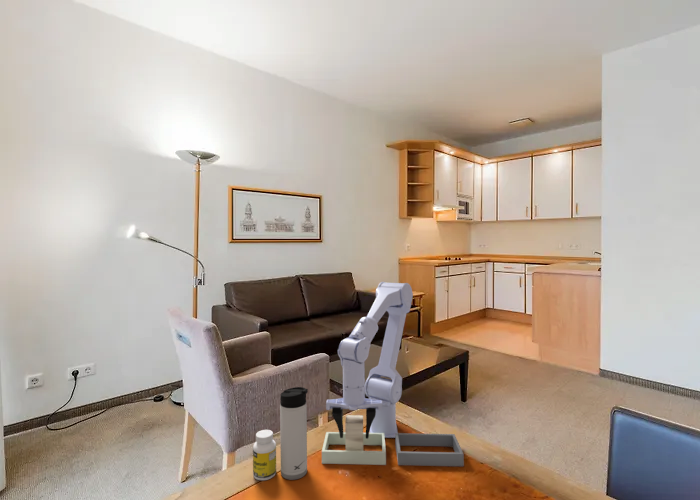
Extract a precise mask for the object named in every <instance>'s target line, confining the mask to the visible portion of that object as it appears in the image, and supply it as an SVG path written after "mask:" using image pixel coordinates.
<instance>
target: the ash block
mask: <svg viewBox="0 0 700 500" xmlns="http://www.w3.org/2000/svg"><path fill="white" fill-rule="evenodd" d="M344 422H345V429H344V430H345V431H344V432H345V438H346V445H345V450H350V451H364V445H363V433H364V415H356V414H355V415H349V414H348V415H345V421H344Z"/></svg>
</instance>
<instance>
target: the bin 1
mask: <svg viewBox="0 0 700 500" xmlns="http://www.w3.org/2000/svg"><path fill="white" fill-rule="evenodd" d="M329 445H342V446H343V445H345V446H346V438H345V431H343V438H340V434H339V431H326V432H325V436H324V440H323V445H322V448H321V464H322V465H323V464H325V465H326V464H327V465H329V464H332V465H334V464H335V465H336V464H337V465H374V466H375V465H376V466H387V451H386V449H387V448H386V440H385V436H384V433H370V432H369V437H368V438H366V432H363V446H381V449H382V450H363V451H350V450H346V449H344V450H340V449H329Z"/></svg>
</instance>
